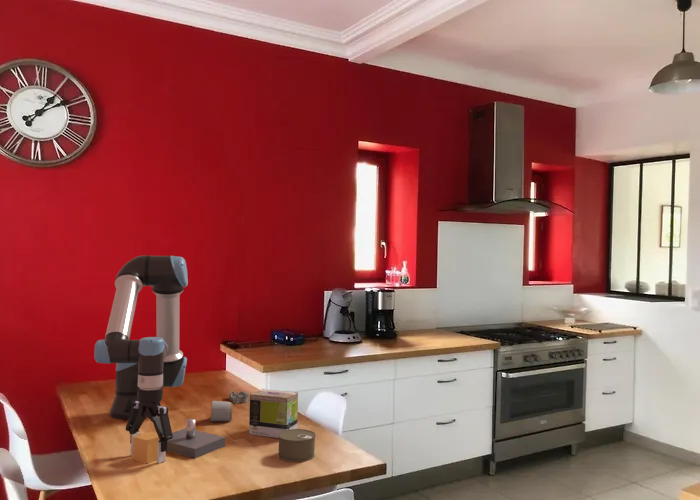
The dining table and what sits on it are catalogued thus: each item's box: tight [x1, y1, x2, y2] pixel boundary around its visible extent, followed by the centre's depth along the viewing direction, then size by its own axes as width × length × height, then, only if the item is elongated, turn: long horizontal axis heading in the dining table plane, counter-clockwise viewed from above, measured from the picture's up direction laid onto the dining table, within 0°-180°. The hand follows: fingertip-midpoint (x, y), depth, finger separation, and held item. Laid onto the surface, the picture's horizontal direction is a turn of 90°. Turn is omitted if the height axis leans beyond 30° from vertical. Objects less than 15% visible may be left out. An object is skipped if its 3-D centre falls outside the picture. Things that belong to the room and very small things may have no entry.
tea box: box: [248, 388, 299, 439], centre depth 207 cm, size 15×10×15 cm, turn 71°
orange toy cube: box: [132, 431, 164, 464], centre depth 179 cm, size 6×6×7 cm
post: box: [185, 418, 197, 439], centre depth 191 cm, size 3×3×6 cm
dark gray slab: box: [166, 427, 227, 459], centre depth 191 cm, size 18×14×3 cm
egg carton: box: [228, 389, 250, 404], centre depth 252 cm, size 11×8×4 cm
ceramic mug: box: [210, 400, 234, 423], centre depth 223 cm, size 11×8×8 cm
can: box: [278, 428, 316, 463], centre depth 185 cm, size 12×12×7 cm
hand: (147, 458), depth 179 cm, fingers open, 11 cm apart
